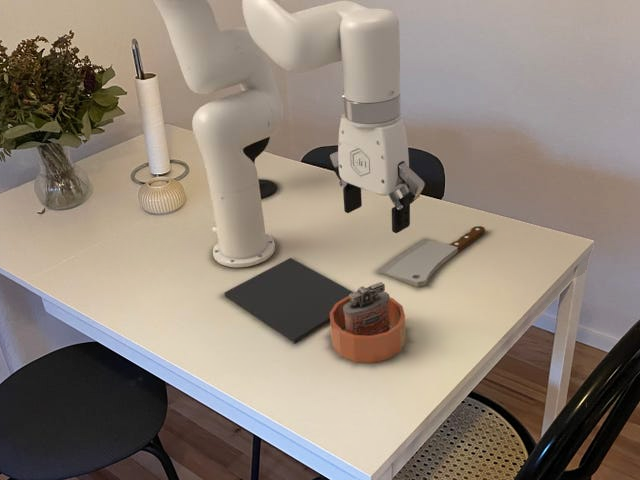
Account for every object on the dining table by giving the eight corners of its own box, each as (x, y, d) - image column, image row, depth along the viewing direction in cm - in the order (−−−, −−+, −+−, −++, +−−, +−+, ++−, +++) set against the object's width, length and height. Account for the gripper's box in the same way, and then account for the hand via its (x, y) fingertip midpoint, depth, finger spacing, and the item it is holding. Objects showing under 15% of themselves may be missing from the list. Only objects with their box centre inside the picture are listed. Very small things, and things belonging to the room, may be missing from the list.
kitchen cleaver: (453, 217, 138) (495, 230, 132) (453, 222, 139) (495, 234, 132) (376, 268, 125) (418, 285, 119) (376, 273, 126) (419, 290, 119)
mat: (224, 296, 123) (224, 292, 122) (290, 261, 131) (290, 257, 131) (294, 343, 110) (294, 339, 109) (363, 301, 118) (363, 297, 117)
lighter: (352, 353, 106) (349, 302, 101) (341, 342, 109) (337, 291, 103) (394, 335, 109) (393, 285, 104) (383, 325, 112) (381, 275, 106)
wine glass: (276, 198, 155) (266, 115, 144) (232, 201, 155) (218, 119, 145) (278, 179, 164) (269, 99, 153) (236, 182, 164) (224, 103, 153)
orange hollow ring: (316, 340, 110) (314, 316, 107) (368, 308, 116) (367, 284, 113) (367, 373, 102) (366, 348, 99) (420, 337, 108) (420, 312, 105)
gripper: (309, 103, 94) (318, 211, 103) (402, 129, 82) (403, 248, 92) (347, 89, 98) (353, 194, 107) (441, 112, 86) (438, 227, 95)
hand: (376, 219), depth 99 cm, fingers open, 9 cm apart
